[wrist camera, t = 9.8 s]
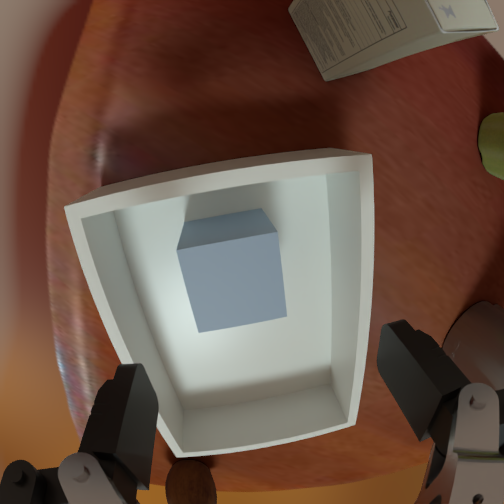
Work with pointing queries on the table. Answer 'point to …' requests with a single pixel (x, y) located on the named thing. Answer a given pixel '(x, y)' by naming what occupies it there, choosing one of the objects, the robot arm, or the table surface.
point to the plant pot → (492, 144)
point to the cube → (232, 270)
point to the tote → (246, 336)
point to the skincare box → (383, 29)
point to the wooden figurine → (190, 484)
